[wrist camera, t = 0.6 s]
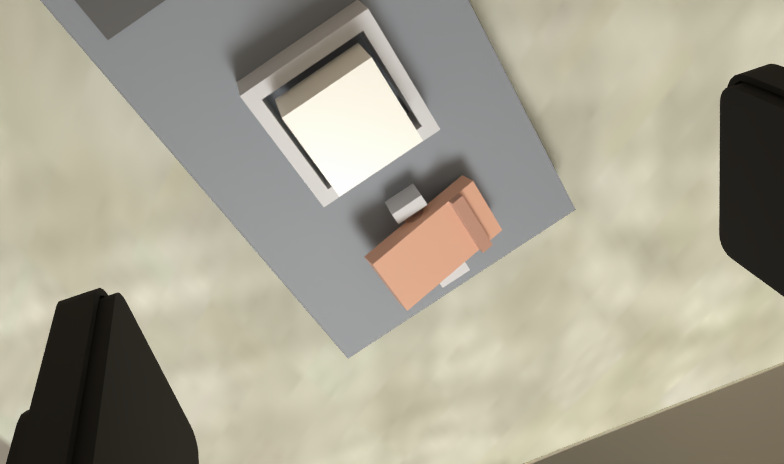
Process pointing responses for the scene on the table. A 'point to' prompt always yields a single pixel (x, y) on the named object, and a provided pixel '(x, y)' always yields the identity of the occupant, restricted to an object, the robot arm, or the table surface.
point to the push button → (348, 119)
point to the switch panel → (291, 161)
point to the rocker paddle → (434, 242)
